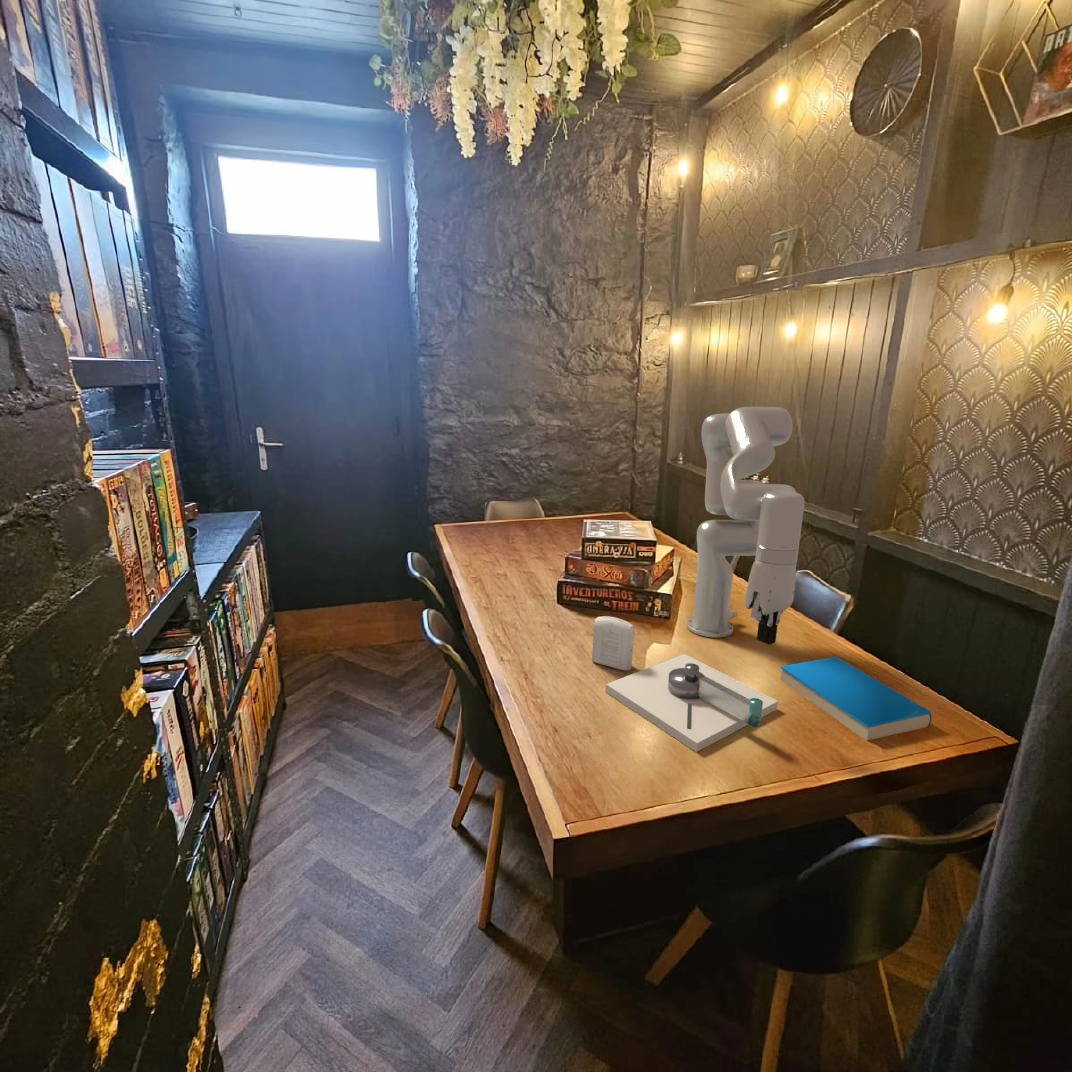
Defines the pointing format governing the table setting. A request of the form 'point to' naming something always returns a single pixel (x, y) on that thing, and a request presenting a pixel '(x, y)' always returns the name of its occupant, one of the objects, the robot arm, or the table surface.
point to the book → (855, 698)
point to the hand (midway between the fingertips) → (765, 641)
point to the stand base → (683, 703)
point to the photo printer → (613, 642)
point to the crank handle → (714, 694)
